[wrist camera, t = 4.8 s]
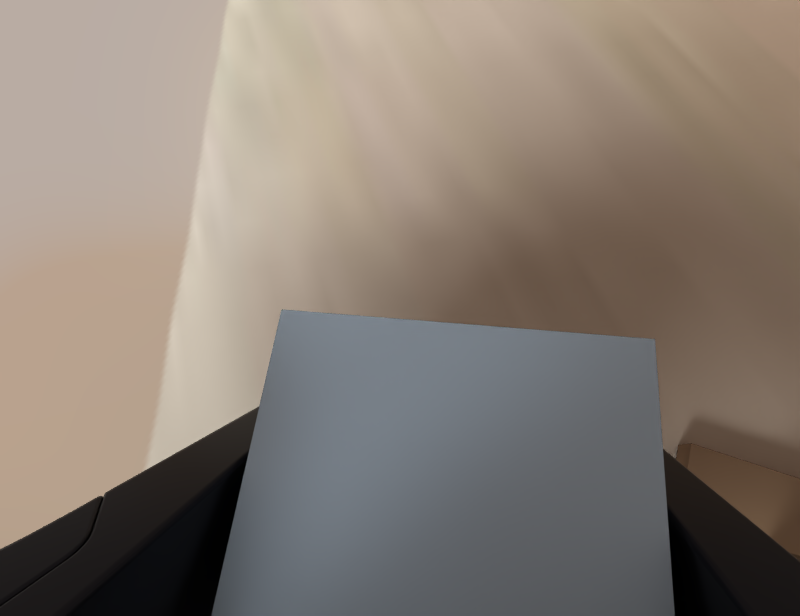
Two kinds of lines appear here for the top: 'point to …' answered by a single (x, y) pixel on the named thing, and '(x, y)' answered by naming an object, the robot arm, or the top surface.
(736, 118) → the top surface
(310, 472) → the block
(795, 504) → the cradle
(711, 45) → the top surface
